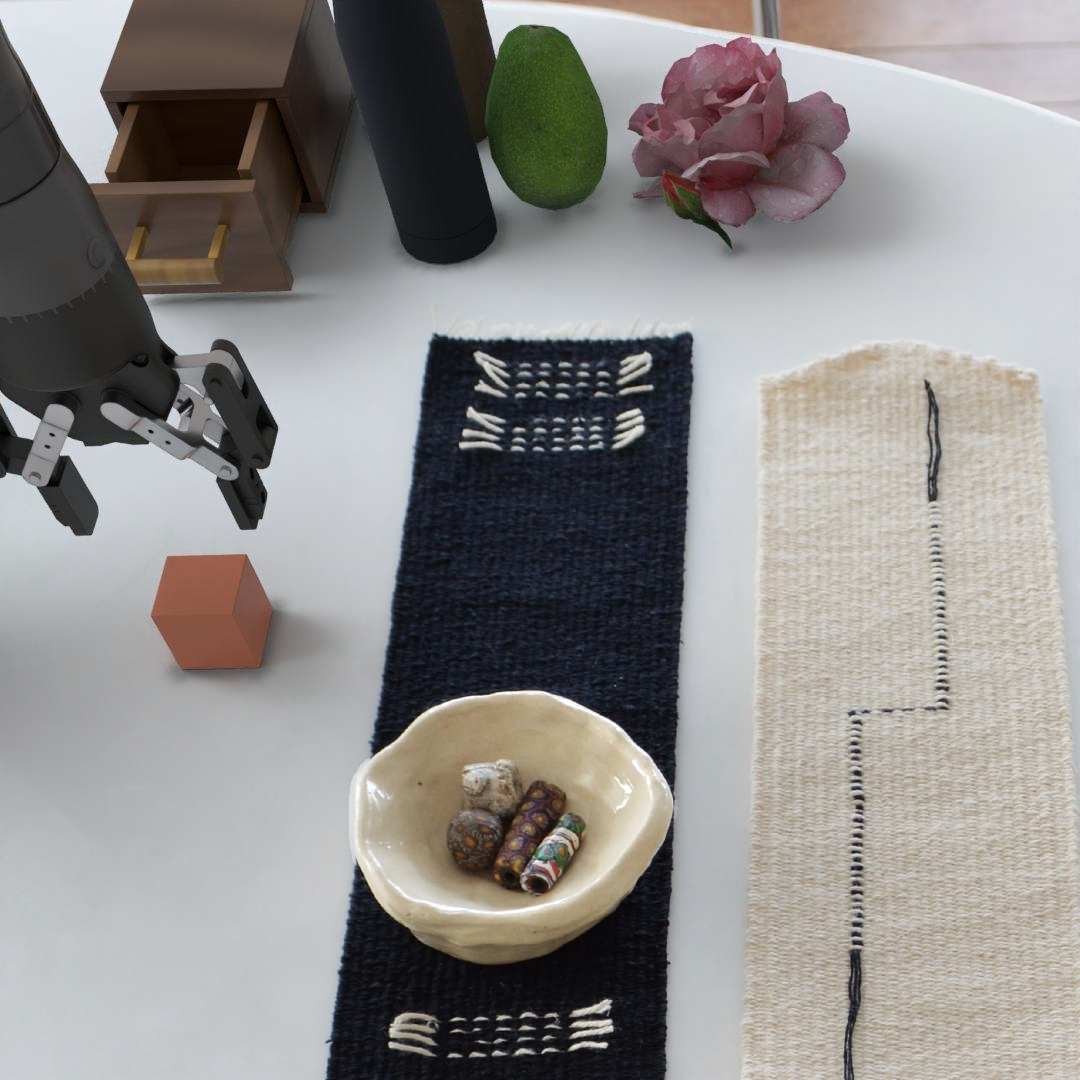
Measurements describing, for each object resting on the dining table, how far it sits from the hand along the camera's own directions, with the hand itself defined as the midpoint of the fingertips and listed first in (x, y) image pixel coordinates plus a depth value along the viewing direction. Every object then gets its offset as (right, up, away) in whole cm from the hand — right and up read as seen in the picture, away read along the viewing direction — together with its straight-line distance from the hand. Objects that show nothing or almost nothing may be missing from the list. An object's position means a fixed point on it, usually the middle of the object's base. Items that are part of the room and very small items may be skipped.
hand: (170, 521), depth 91 cm
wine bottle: (+7, +25, +26) cm, 37 cm away
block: (0, -5, +8) cm, 9 cm away
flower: (+27, +28, +28) cm, 48 cm away
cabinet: (-7, +33, +31) cm, 46 cm away
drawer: (-7, +23, +24) cm, 34 cm away
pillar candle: (+4, +37, +33) cm, 50 cm away
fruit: (+14, +29, +28) cm, 43 cm away
